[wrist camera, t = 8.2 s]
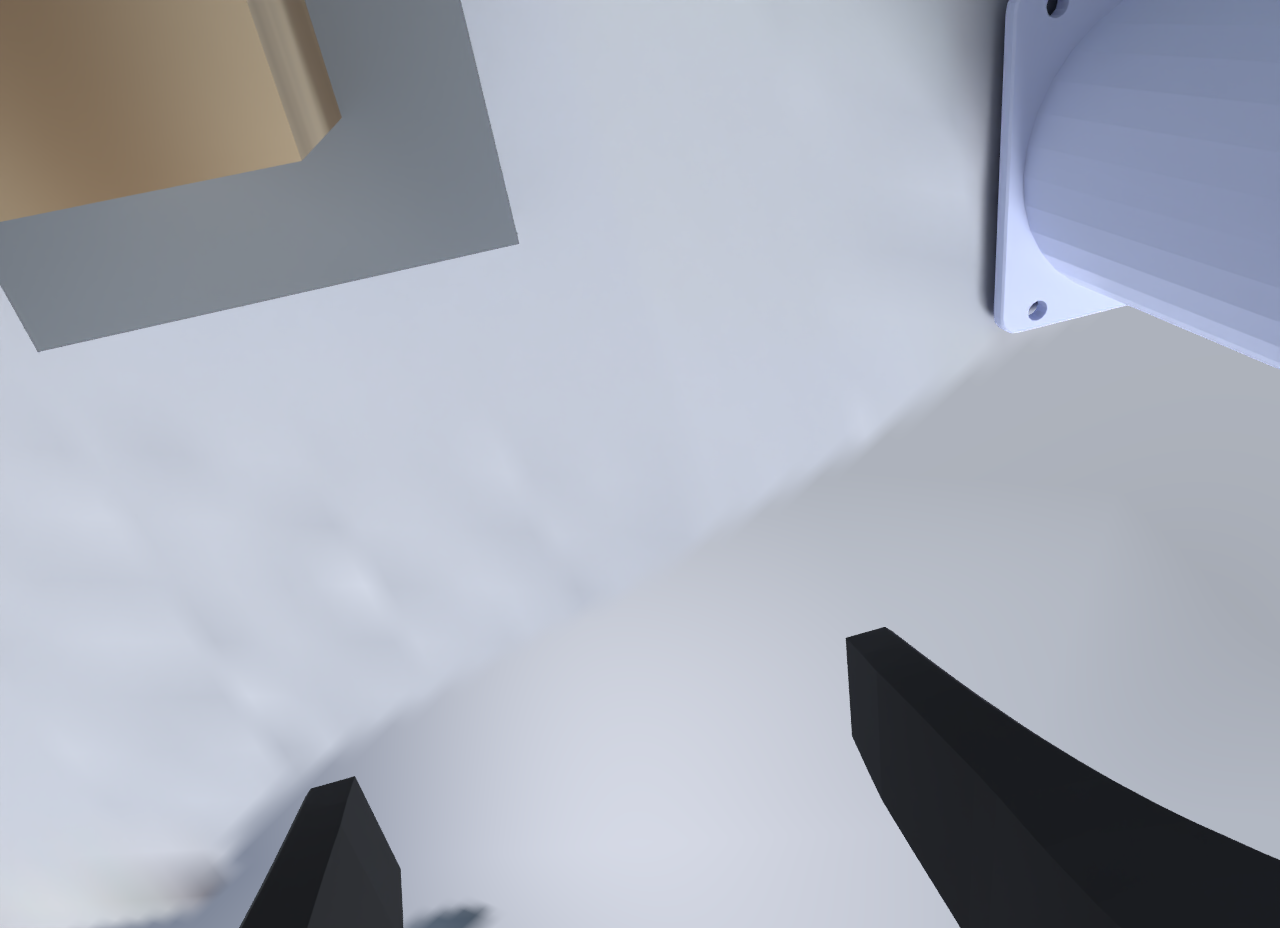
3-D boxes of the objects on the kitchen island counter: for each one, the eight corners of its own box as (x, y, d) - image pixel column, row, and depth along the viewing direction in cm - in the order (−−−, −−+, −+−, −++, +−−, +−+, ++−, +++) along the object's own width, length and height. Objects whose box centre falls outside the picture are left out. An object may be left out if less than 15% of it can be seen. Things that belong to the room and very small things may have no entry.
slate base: (378, -322, 14) (368, -381, 12) (510, 216, 19) (519, 243, 16) (-194, -233, 13) (-317, -280, 11) (86, 310, 18) (37, 351, 16)
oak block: (253, -162, 13) (159, -251, 9) (341, 117, 15) (301, 160, 11) (-23, -117, 12) (-269, -186, 8) (105, 164, 14) (-38, 229, 10)
